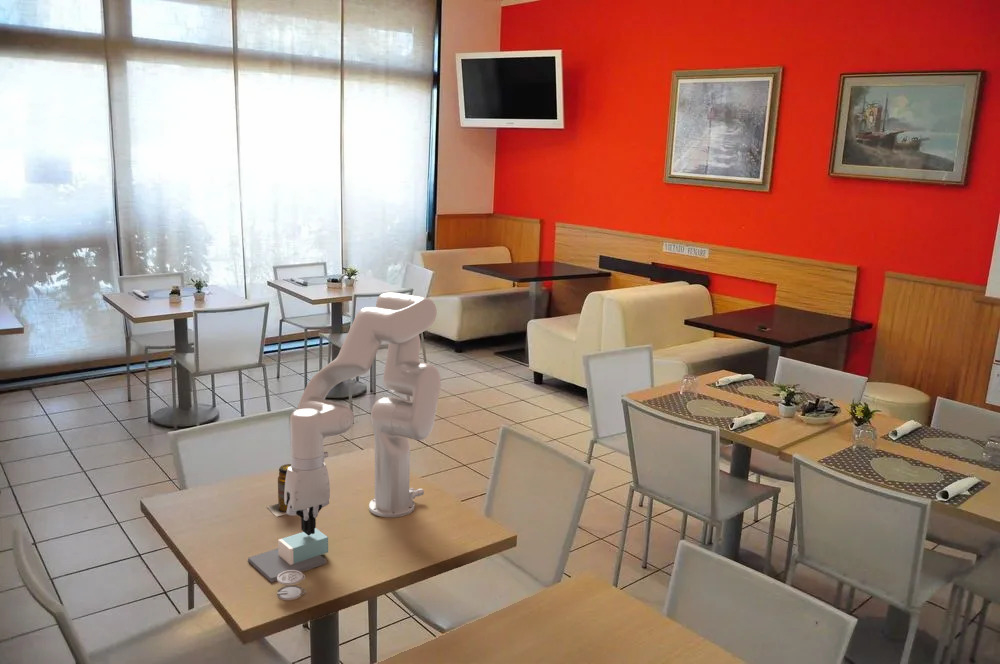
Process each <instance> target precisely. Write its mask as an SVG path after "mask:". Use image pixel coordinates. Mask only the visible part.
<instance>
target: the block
mask: <svg viewBox="0 0 1000 664" xmlns="http://www.w3.org/2000/svg"><path fill="white" fill-rule="evenodd" d="M277 541H278V542H277V543H278V545H277V548H278V551H279V556H280V557H282V558H283V559H284V560H285V561H286V562H288V563H289V564H290V565H292V564H295V563H298V562H301V561H304V560H307V559H310V558H313V557H316V556H319V555H321V556H322V555H324V554H327V553H329V537H328V536H327V535H326V534H324V533H323V532H322V531H320V530H319V529H318V528H317V527H316V528H315V533H314V534H311V535H307V534H306V533H304V532H303V531H302V532H298V533H295V534H293V535H289V536H285V537H282V538H279V539H277Z"/></svg>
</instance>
